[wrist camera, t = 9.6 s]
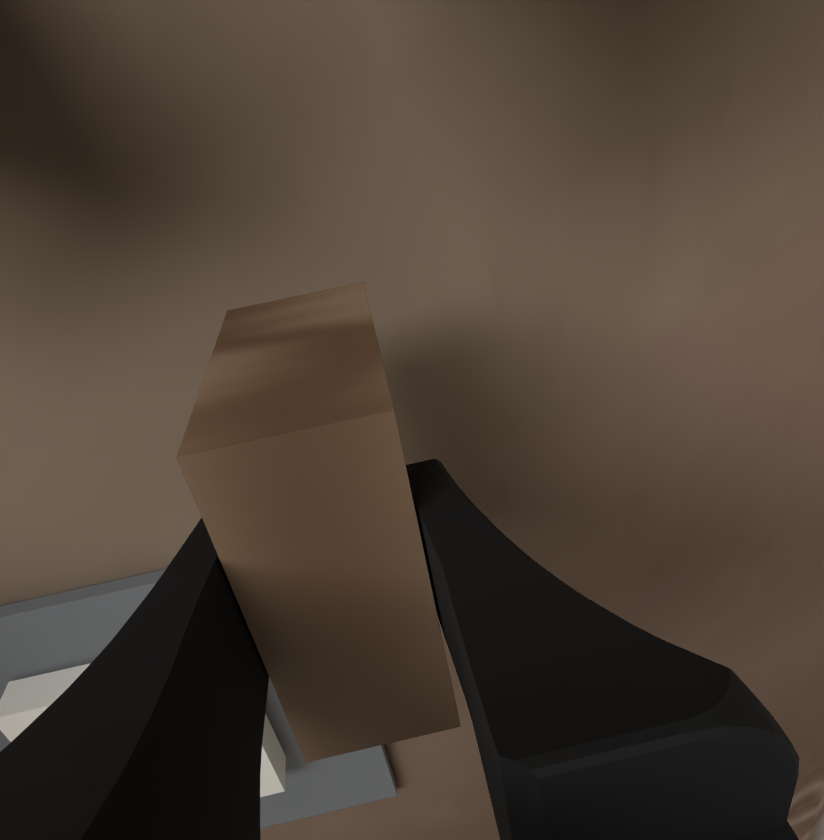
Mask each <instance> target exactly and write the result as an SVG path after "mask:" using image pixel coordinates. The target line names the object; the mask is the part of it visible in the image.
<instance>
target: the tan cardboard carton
mask: <svg viewBox="0 0 824 840" xmlns="http://www.w3.org/2000/svg"><path fill="white" fill-rule="evenodd" d="M177 460H178V462H179V465H180V467H181V469H182V472H183V474H184V476H185V479H186V481H187V483H188V486H189V488H190V491H191V493H192V495H193V498H194V500H195V502H196V505H197V507H198V509H199V512H200V514H201V517H202V519H203V521H204V524H205V526H206V528H207V531H208V533H209V535H210V538H211V540H212V543H213V545H214V547H215V550H216V552H217V554H218V557H219V559H220V561H221V564H222V566H223V568H224V571H225V573H226V576H227V578H228V580H229V583H230V585H231V587H232V590H233V592H234V594H235V597H236V599H237V602H238V604H239V606H240V609H241V611H242V613H243V616H244V618H245V620H246V623H247V625H248V628H249V630H250V632H251V635H252V637H253V639H254V642H255V644H256V646H257V649H258V651H259V654H260V656H261V658H262V661H263V663H264V665H265V668H266V670H267V672H268V675H269V677H270V679H271V682H272V684H273V687H274V689H275V691H276V694H277V696H278V698H279V701H280V703H281V705H282V708H283V710H284V713H285V715H286V717H287V720H288V722H289V724H290V727H291V729H292V731H293V734H294V736H295V739H296V741H297V743H298V746H299V748H300V750H301V753H302V755H303V757H304V760H305V762H306V763H308V762H312V761H316V760H320V759H325V758H329V757H333V756H337V755H341V754H346V753H350V752H354V751H358V750H363V749H367V748H371V747H375V746H380V745H384V744H388V743H392V742H397V741H401V740H405V739H409V738H414V737H418V736H422V735H426V734H431V733H435V732H439V731H443V730H448V729H452V728H456V727H460V721H459V717H458V712H457V707H456V702H455V697H454V693H453V688H452V683H451V678H450V674H449V669H448V664H447V659H446V655H445V650H444V645H443V640H442V636H441V631H440V626H439V621H438V617H437V612H436V607H435V602H434V598H433V593H432V588H431V583H430V579H429V574H428V569H427V564H426V560H425V555H424V550H423V545H422V540H421V536H420V531H419V526H418V521H417V517H416V512H415V507H414V502H413V498H412V493H411V488H410V483H409V479H408V474H407V469H406V464H405V460H404V455H403V450H402V445H401V441H400V436H399V431H398V426H397V422H396V417H395V412H394V408H393V403H392V399H391V395H390V391H389V387H388V383H387V379H386V374H385V370H384V366H383V362H382V358H381V354H380V349H379V345H378V341H377V337H376V333H375V329H374V324H373V320H372V316H371V312H370V308H369V304H368V300H367V295H366V291H365V287H364V283H358V284H353V285H348V286H343V287H339V288H334V289H329V290H324V291H319V292H315V293H310V294H305V295H300V296H295V297H291V298H286V299H281V300H276V301H272V302H267V303H262V304H257V305H252V306H248V307H243V308H238V309H233V310H228V311H227V313H226V316H225V319H224V322H223V325H222V328H221V330H220V333H219V336H218V339H217V342H216V345H215V348H214V351H213V353H212V356H211V359H210V362H209V365H208V368H207V371H206V374H205V377H204V379H203V382H202V385H201V388H200V391H199V394H198V397H197V400H196V402H195V405H194V408H193V411H192V414H191V417H190V420H189V423H188V426H187V428H186V431H185V434H184V437H183V440H182V443H181V446H180V449H179V451H178V454H177Z"/></svg>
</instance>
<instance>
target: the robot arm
mask: <svg viewBox="0 0 824 840" xmlns="http://www.w3.org/2000/svg"><path fill="white" fill-rule="evenodd" d="M406 469H407V474H408V479H409V483H410V488H411V493H412V498H413V502H414V507H415V512H416V517H417V521H418V526H419V531H420V536H421V540H422V545H423V550H424V555H425V560H426V564H427V569H428V574H429V579H430V583H431V588H432V593H433V598H434V602H435V607H436V612H437V615H438V618H439V621H440V624H441V627H442V630H443V633H444V636H445V639H446V642H447V645H448V648H449V651H450V654H451V657H452V660H453V663H454V666H455V669H456V672H457V675H458V678H459V681H460V683H461V686H462V689H463V692H464V695H465V698H466V702H467V705H468V709H469V712H470V715H471V719H472V722H473V726H474V730H475V735H476V739H477V743H478V747H479V751H480V756H481V760H482V764H483V768H484V772H485V777H486V781H487V785H488V789H489V793H490V798H491V802H492V806H493V810H494V815H495V819H496V823H497V827H498V831H499V836H500V840H799V839H798V838H797V836H796V834H795V833H794V831H793V830H792V828H791V826H790V825H789V823H788V822H787V816H788V813H789V809H790V805H791V801H792V797H793V794H794V790H795V786H796V782H797V778H798V774H799V757H798V755H797V753H796V751H795V749H794V747H793V745H792V743H791V742H790V740H789V739H788V737H787V736H786V734H785V733H784V731H783V730H782V728H781V727H780V726H779V724H778V723H777V722H776V720H775V719H774V717H773V716H772V715H771V714H770V712H769V711H768V710H767V709H766V708H765V707H764V706H763V704H762V703H761V702H760V701H759V700H758V699H757V697H756V696H755V695H754V694H753V693H752V692H751V691H750V690H749V688H748V687H747V686H746V685H745V684H744V683H743V682H742V681H741V679H740V678H739V677H738V676H737V675H736V674H735V673H734V672H733V671H732V670H731V669H730V668H727V667H725V666H723V665H720V664H718V663H715V662H713V661H711V660H708V659H706V658H704V657H701V656H699V655H697V654H694V653H692V652H690V651H687V650H685V649H682V648H680V647H678V646H675V645H673V644H671V643H668V642H666V641H664V640H662V639H660V638H658V637H656V636H654V635H652V634H650V633H648V632H646V631H644V630H642V629H640V628H638V627H636V626H634V625H632V624H630V623H629V622H627V621H625V620H623V619H622V618H620V617H618V616H617V615H615V614H613V613H612V612H610V611H608V610H606V609H605V608H603V607H601V606H600V605H598V604H596V603H595V602H593V601H591V600H589V599H588V598H586V597H584V596H583V595H581V594H580V593H578V592H577V591H575V590H574V589H572V588H571V587H570V586H568V585H567V584H565V583H564V582H562V581H561V580H559V579H558V578H557V577H555V576H554V575H553V574H551V573H550V572H548V571H547V570H546V569H544V568H543V567H542V566H540V565H539V564H538V563H537V562H535V561H534V560H533V559H532V558H530V557H529V556H528V555H527V554H526V553H524V552H523V551H522V550H521V549H520V548H518V547H517V546H516V545H515V544H514V543H513V542H512V541H511V540H509V539H508V538H507V537H506V536H505V535H504V534H503V533H502V532H501V531H500V530H499V529H497V528H496V527H495V526H494V525H493V524H492V523H491V522H490V521H489V520H488V519H487V518H486V517H485V515H484V514H483V513H482V512H481V511H480V510H479V509H478V508H477V507H476V506H475V505H474V504H473V503H472V502H471V501H470V500H469V499H468V497H467V496H466V495H465V494H464V493H463V491H462V490H461V489H460V488H459V487H458V485H457V484H456V483H455V482H454V480H453V479H452V478H451V476H450V475H449V474H448V472H447V471H446V469H445V468H444V466H443V464H442V463H441V462H440V461H438V460H436V459H432V460H427V461H423V462H418V463H414V464H409V465H406ZM268 683H269V675H268V672H267V670H266V668H265V665H264V663H263V661H262V658H261V656H260V654H259V651H258V649H257V646H256V644H255V642H254V639H253V637H252V635H251V632H250V630H249V628H248V625H247V623H246V620H245V618H244V616H243V613H242V611H241V609H240V606H239V604H238V602H237V599H236V597H235V594H234V592H233V590H232V587H231V585H230V583H229V580H228V578H227V576H226V573H225V571H224V568H223V566H222V564H221V561H220V559H219V557H218V554H217V552H216V550H215V547H214V545H213V543H212V540H211V538H210V535H209V533H208V531H207V528H206V526H205V524H204V521H203V519H202V518H201V519H200V521H199V522H198V524H197V525H196V527H195V528H194V530H193V531H192V533H191V534H190V535H189V537H188V538H187V540H186V541H185V543H184V544H183V546H182V547H181V549H180V550H179V551H178V553H177V554H176V556H175V557H174V559H173V560H172V562H171V563H170V565H169V566H168V567H167V569H166V570H165V572H164V573H163V574H162V576H161V577H160V578H159V580H158V581H157V583H156V584H155V585H154V587H153V588H152V590H151V591H150V592H149V594H148V595H147V596H146V597H145V599H144V600H143V601H142V603H141V604H140V605H139V606H138V608H137V609H136V610H135V611H134V613H133V614H132V615H131V616H130V618H129V619H128V620H127V622H126V623H125V624H124V625H123V627H122V628H121V629H120V630H119V632H118V633H117V634H116V635H115V637H114V638H113V639H112V640H111V641H110V642H109V644H108V645H107V646H106V647H105V648H104V649H103V651H102V652H101V653H100V654H99V655H98V656H97V657H96V658H95V660H94V661H93V662H92V663H91V664H90V665H89V666H88V667H87V668H86V669H85V670H84V671H83V672H82V673H81V675H80V676H79V677H78V678H77V679H76V680H75V681H74V682H73V683H72V684H71V685H70V686H69V687H68V688H67V689H66V690H65V691H64V692H63V693H62V694H61V695H60V696H59V697H58V698H57V699H56V700H55V701H54V702H53V703H52V704H51V705H50V706H49V707H48V708H47V709H46V710H45V711H44V712H43V713H41V714H40V715H39V716H38V717H37V718H36V719H35V720H34V721H33V722H32V723H31V724H30V725H29V726H28V727H27V728H26V729H25V730H24V731H22V732H21V733H20V734H19V735H18V736H17V737H16V738H15V739H14V740H13V741H12V742H11V743H10V744H9V745H7V746H6V747H5V748H4V749H3V750H2V751H1V752H0V840H260V771H261V754H262V741H263V732H264V722H265V712H266V703H267V693H268Z"/></svg>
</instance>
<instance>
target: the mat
mask: <svg viewBox="0 0 824 840" xmlns="http://www.w3.org/2000/svg"><path fill="white" fill-rule="evenodd" d="M165 570H166V569H164V570H159V571H155V572H150V573H146V574H141V575H137V576H132V577H128V578H123V579H119V580H115V581H110V582H106V583H101V584H97V585H92V586H88V587H83V588H79V589H74V590H70V591H65V592H61V593H56V594H52V595H47V596H43V597H38V598H34V599H29V600H25V601H20V602H16V603H12V604H7V605H3V606H0V699H1V697H2V695H3V693H4V691H5V689H6V687H7V684H8V682H10V681H14V680H19V679H23V678H28V677H32V676H36V675H41V674H45V673H50V672H54V671H58V670H63V669H67V668H71V667H76V666H80V665H85V664H89V663H92V662H93V661H94V660H95V658H96V657H97V656H98V655H99V654H100V653H101V652H102V651H103V649H104V648H105V647H106V646H107V645H108V644H109V642H110V641H111V640H112V639H113V638H114V637H115V635H116V634H117V633H118V632H119V630H120V629H121V628H122V627H123V625H124V624H125V623H126V622H127V620H128V619H129V618H130V616H131V615H132V614H133V613H134V611H135V610H136V609H137V608H138V606H139V605H140V604H141V603H142V601H143V600H144V599H145V597H146V596H147V595H148V594H149V592H150V591H151V590H152V588H153V587H154V585H155V584H156V583H157V581H158V580H159V578H160V577H161V576H162V574H163V573H164V572H165ZM265 713H266V715H267V717H268V720H269V722H270V724H271V726H272V728H273V730H274V732H275V735H276V737H277V739H278V741H279V743H280V745H281V747H282V750H283V752H284V754H285V756H286V768H285V792H280V793H276V794H272V795H268V796H264V797H260V828H264V827H268V826H272V825H277V824H281V823H285V822H289V821H293V820H298V819H302V818H306V817H310V816H314V815H318V814H323V813H327V812H331V811H335V810H339V809H344V808H348V807H352V806H356V805H360V804H364V803H369V802H373V801H377V800H381V799H385V798H390V797H394V796H397V788H396V782H395V779H394V776H393V773H392V770H391V767H390V763H389V760H388V757H387V754H386V751H385V748H384V745H380V746H375V747H371V748H367V749H363V750H358V751H354V752H350V753H346V754H341V755H337V756H333V757H329V758H325V759H320V760H316V761H312V762H308V763H306V762H305V760H304V757H303V755H302V753H301V750H300V748H299V746H298V743H297V741H296V739H295V736H294V734H293V731H292V729H291V727H290V724H289V722H288V720H287V717H286V715H285V713H284V710H283V708H282V705H281V703H280V701H279V698H278V696H277V694H276V691H275V689H274V687H273V684H272V682H271V679H270V677H269V683H268V693H267V703H266V712H265ZM10 743H11V742H10V741H9V740H8V739H7V737H6V736H5V735H4V734H3V733H2V731H1V730H0V752H1V751H2V750H3V749H4V748H5V747H6V746H7V745H9V744H10Z"/></svg>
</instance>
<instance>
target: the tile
mask: <svg viewBox="0 0 824 840" xmlns="http://www.w3.org/2000/svg"><path fill="white" fill-rule="evenodd" d="M90 664H91V663H89V664H85V665H80V666H76V667H71V668H67V669H63V670H58V671H54V672H50V673H45V674H41V675H36V676H32V677H28V678H23V679H19V680H14V681H10V682H8V684H7V687H6V689H5V691H4V693H3V695H2V697H1V699H0V730H1V731H2V733H3V734H4V735H5V736H6V737H7V739H8V740H9V741H10V742H12V741H13V740H14V739H15V738H16V737H17V736H18V735H19V734H20V733H21V732H22V731H24V730H25V729H26V728H27V727H28V726H29V725H30V724H31V723H32V722H33V721H34V720H35V719H36V718H37V717H38V716H39V715H40V714H41V713H43V712H44V711H45V710H46V709H47V708H48V707H49V706H50V705H51V704H52V703H53V702H54V701H55V700H56V699H57V698H58V697H59V696H60V695H61V694H62V693H63V692H64V691H65V690H66V689H67V688H68V687H69V686H70V685H71V684H72V683H73V682H74V681H75V680H76V679H77V678H78V677H79V676H80V675H81V673H82V672H83V671H84V670H85V669H86V668H87V667H88V666H89V665H90ZM285 768H286V756H285V754H284V752H283V750H282V747H281V745H280V743H279V741H278V739H277V737H276V735H275V732H274V730H273V728H272V726H271V724H270V722H269V720H268V717H267V715H266V713H265V722H264V732H263V741H262V754H261V771H260V797H264V796H268V795H272V794H276V793H280V792H285Z"/></svg>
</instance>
